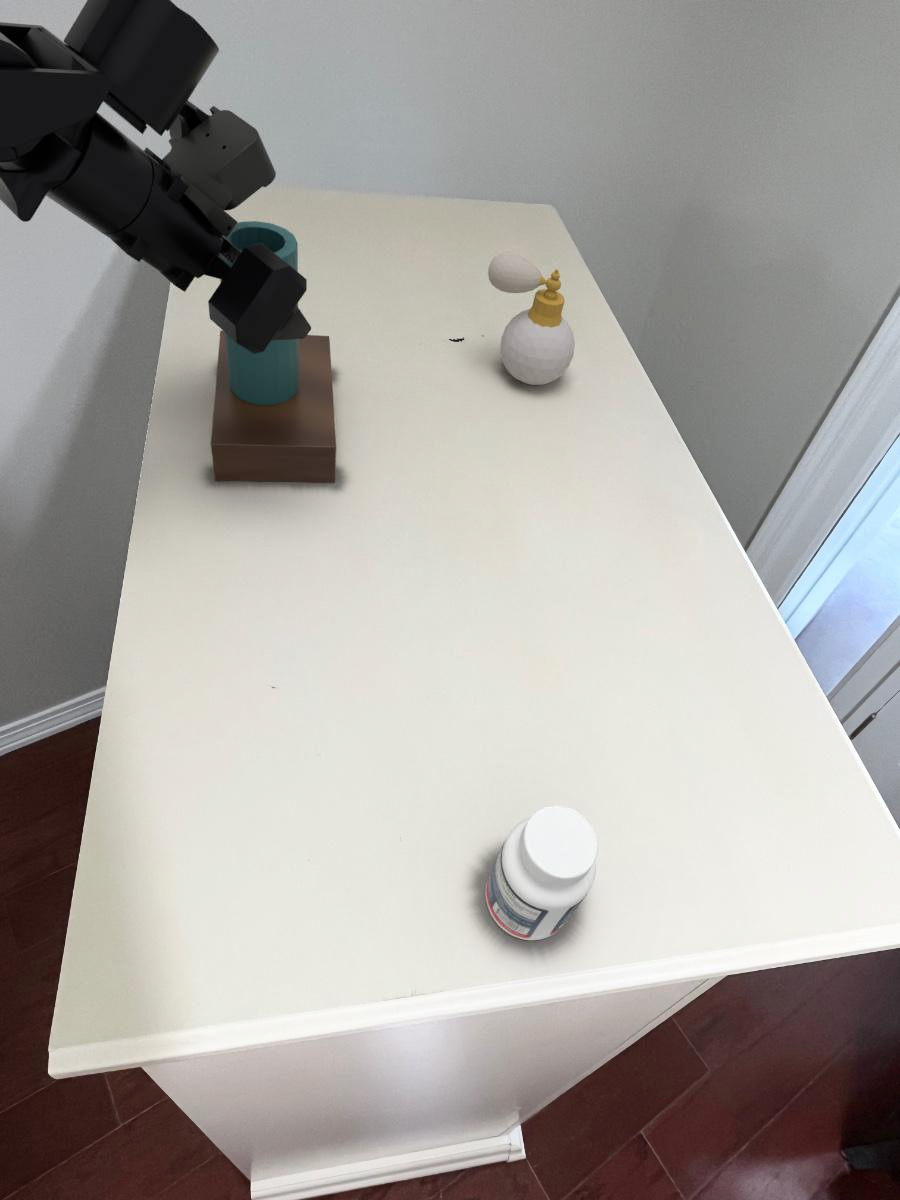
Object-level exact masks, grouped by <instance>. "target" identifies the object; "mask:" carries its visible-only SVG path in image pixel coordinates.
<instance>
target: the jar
mask: <svg viewBox="0 0 900 1200" xmlns="http://www.w3.org/2000/svg"><path fill="white" fill-rule="evenodd" d="M223 237H224V238H225V239H227V240H228V241H229V242H230V243H231V244H233V245H234V246H235V247H236V248H237V249H239V250H240V251H241V252H242V251H243V249H244V248H245V247H247V246H251V245H255V244H258V243H263V244H264V245H265V246H266V247H268V248H269V249H270V250H271V251H273V252H274V253H275V254H276V255H278V256H279V257H280V258H281V259H282V260H284V261H285V262H286V263H287V264H289V265H290V266H291V267H292V268H294V269H295V270H296V271H297V272H298V273H299V271H298V270H299V268H298V267H299V261H298V260H299V259H298V258H299V255H298V254H299V253H298V252H299V250H298V248H299V247H298V246H299V245H298V243H299V242H298V241H297V238H296V237H295V235H294V234H293V233H292V232H291V231H290V230H288V229H287V228H285V227H283V226H280V225H277V224H275V223H271V222H265V221H257V220H253V221H252V220H248V221H239V222H237V224H236V225H235V227H234V228H233V230H232V231H231V233H230V234H229V236H227V237H225V236H224V235H223ZM219 257H220V258H221V259H222V260H224V261H225V262H226V263H227V264H228V265H230V266H231V267H232V265H233V264H232V263H231V262H230V261H229V260H228V259H226V257H224V256H223V255H222V254H221V253H220V254H219ZM219 281H220V283H221V282H222V279H221V278H220V279H219ZM297 306H298V307H299V302H298V303H297ZM225 338H226V350H227V361H228V372H229V380H230V387H231V389H232V391H233V393H234V394H235V395H236V396H237V397H238V398H240V399H242V400H243V401H246V402H248V403H252V404H256V405H276V404H280V403H283V402H285V401H287V400H289V399H291V398H292V397H293V396H294V395H295V394H296V392H297V390H298V380H299V357H298V339H289V340H271V342H270V343H269V344H268V346H267V347H266V349H265V350H264V352H260V353H256V354H253V353H252V352H250V351H248V350H247V349H245V348H244V347H242V346H240V345H239V344H237V343H236V342H235V341H234V340H233V339H232V338H231V337H229V336H228V335H227V334H226V333H225Z"/></svg>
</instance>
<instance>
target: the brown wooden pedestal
mask: <svg viewBox="0 0 900 1200" xmlns="http://www.w3.org/2000/svg"><path fill="white" fill-rule="evenodd" d="M218 343H219V344H218V352H217V353H218V355H217V366H216V379H215V388H214V389H215V390H214V401H213V402H214V403H213V413H212V425H211V435H210V436H211V437H210V450H211V458H212V466H213V475H214V481H216V482H271V483H272V482H273V483H275V482H276V483H331V484H332V483H335V482H336V465H337V464H336V462H337V436H336V421H335V405H334V390H333V387H334V386H333V372H332V356H331V339H330V335H317V334H316V335H315V334H314V335H313V334H307V336H306V337H305V338H304V339H298V357H299V380H298V390H297V392H296V394H295V395H294V396H293V397H292V398H291V399H289V400H287V401H285V402H283V403H280V404H276V405H256V404H252V403H248V402H246V401H243V400H242V399H240V398H238V397H237V396H236V395H235V394H234V393H233V391H232V389H231V387H230V380H229V372H228V361H227V350H226V338H225V332H224V331H223V330H220V331H219V342H218Z"/></svg>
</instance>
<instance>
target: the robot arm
mask: <svg viewBox="0 0 900 1200" xmlns="http://www.w3.org/2000/svg"><path fill="white" fill-rule="evenodd" d="M219 52H220V48H219V46H218V45H217V43H216V42H215V40H214V39H213V38H212V37H211V35H210V34H209V33H208V32H207V31H206V30H205V28H204V27H203V26H202V25H201V24H200V23H199V22H198V21H197V19H195V18H194V17H193V16H192V15H190V14H189V13H188V12H186V11H184V10H183V9H181V8H180V7H178V6H177V5H176V4H175V3H174V2H173V1H172V0H86V2H85V4H84V5H83V7H82V9H80V12H79V14H78V15H77V17H76V18H75V20H74V21H73V23H72V25H71V27H70V28H69V31H68V32H67V34H66V36H65V37H64V39H63V40H62V39H61V38H59V37H58V36H56V35H55V34H54V33H52V31H50V30H49V29H48V28H46V27H44V25H40V24H39V25H38V24H37V25H36V24H28V23H27V24H25V23H15V22H2V21H1V22H0V201H1V203H2V204H4V206H6V207H7V208H8V209H9V211H11V213H12V214H14V216H16V217H17V218H18V219H19V220H20V221H21V222H23V223H28V222H30V221H31V220H32V219H33V218H34V215H35V214H36V212H37V211H38V209H39V208H40V206H41V204H42V202H43V201H44V199H45V198H46V197H47V198H49V199H50V200H52V201H53V202H54V203H56V204H57V205H59V206H60V207H62V208H63V209H65V210H67V211H68V212H70V213H71V214H73V215H74V216H75V217H77V218H79V219H80V220H82V221H83V222H84V223H86V224H88V225H89V226H91V227H92V228H93V229H95V230H96V231H98V232H99V233H101V234H102V235H104V236H105V237H107V238H108V239H110V241H112V242H113V243H114V244H115V245H116V246H118V247H119V248H120V249H121V250H122V251H123V252H124V253H125V254H126V255H127V256H129V257H130V258H132V259H134V260H135V261H137V262H138V263H141V261H144V263H146V264H148V265H149V266H150V267H153V268H154V269H155V270H157V271H158V272H160V274H161V275H163V276H164V278H166V279H167V280H168V281H169V282H170V284H172V285H173V286H174V287H176V288H178V289H179V290H180V291H182V292H184V293H185V292H186V291H187V289H188V288H189V287H190V285H191V284H192V282H193V281H194V279H195V278H196V279H200V278H202V277H203V276H205V277H206V276H207V277H209V278H210V277H211V278H214V279H219V280H220V278H221V279H222V282H220V283H219V285H218V286H217V288H216V289H215V290H214V292H213V293H212V295H211V296H210V298H209V299H208V300H207V304H208V305H207V306H208V313H209V320H211V322H213V323H214V324H215V325H216V326H217V327H219V328H220V329H221V331H224V332H225V333H226V334H227V335H228V336H229V337H231V338H232V339H233V340H234V341H235V342H236V343H237V344H239V345H240V346H242V347H244V348H245V349H247V350H248V351H250V352H252V353H253V354H256V353H260V352H264V350H265V349H266V347H267V346H268V344H269V343H270V342H271V340H289V339H304V338H305V337H306V336H307V335H309V333H310V332H311V330H312V326H311V324H310V323H309V321H308V320H307V318H306V316H305V315H304V314H303V312H302V311H301V309H300V308H299V305H298V306H297V303H298V304H299V302H300V301H301V300H302V298H303V296H304V295H305V293H306V292H307V289H308V288H307V284H308V282H307V281H308V280H307V278H305V276H303V275H302V274H301V273H299V271H298V272H297V271H296V270H295V269H294V268H292V267H291V266H290V265H289V264H287V263H286V262H285V261H284V260H282V259H281V258H280V257H279V256H278V255H276V254H275V253H274V252H273V251H271V250H270V249H269V248H268V247H266V246H265V245H264V244H263V243H258V244H255V245H251V246H247V247H245V248H244V249H243V251H242V252H241V251H240V250H239V249H237V248H236V247H235V246H234V245H233V244H231V243H230V242H229V241H228V240H227V239H225V238H224V237H223V235H224V236H225V237H227V236H229V234H230V233H231V231H232V230H233V228H234V227H235V225H236V224H237V223H238V221H237V220H236V219H235V218H234V217H233V216H232V215H230V214H229V213H228V212H227V211H231V210H234V209H237V208H238V207H239V206H240V205H241V204H243V203H244V202H245V201H246V200H248V199H249V198H250V197H251V196H252V195H254V194H255V193H256V192H257V191H259V190H260V189H262V188H267V187H268V186H270V185H271V184H272V183H273V182H274V180H275V179H276V176H277V173H276V170H275V167H274V165H273V163H272V161H271V159H270V156H269V154H268V151H267V149H266V147H265V144H264V143H263V140H262V138H261V135H260V134H259V131H258V130H257V129H256V127H254V126H253V125H251V124H250V123H249V122H247V121H246V120H244V119H243V118H242V117H239V116H238V115H237V114H236V113H234V112H233V111H231V110H229V109H219V108H218V107H216V106H215V105H213V106H211V107H210V108H209V111H210V113H211V115H210V114H207V113H206V112H204V111H203V110H202V109H200V108H199V107H198V106H197V105H195V104H193V103H192V102H191V101H190V100H189V99H190V97H191V96H192V94H193V93H194V92H195V89H196V88H197V86H198V85H199V83H200V82H201V80H202V78H203V77H204V75H205V74H206V72H207V71H208V69H209V68H210V66H211V64H213V61H214V60H215V58H216V57H217V55H218V54H219ZM102 104H105V105H106V106H107V107H108V108H109V109H110V110H112V111H113V112H115V113H116V114H117V115H118V116H119V118H122V119H123V120H124V121H125V122H127V123H128V124H129V125H130V126H131V127H132V128H134V129H135V130H136V131H138V132H139V133H140V134H141V135H144V133H145V132H146V130H147V129H148V127H149V128H150V129H152V130H153V131H154V132H155V133H156V134H158V135H159V136H160V137H162V136H163V134H164V133H165V131H166V132H169V139H168V142H169V145H170V147H171V148H170V151H169V152H168V153H167V154H166V155H164V156H163V157H162V158H161V157H159V156H158V155H157V154H156V153H154V152H153V151H152V150H151V149H149V148H148V147H147V146H145V149H142V148H141V147H140V146H139V145H137V144H136V143H135V142H134V141H133V140H132V139H131V138H129V137H128V136H127V135H126V134H124V133H123V132H122V131H121V130H119V129H118V128H117V127H116V126H115V125H113V124H112V123H111V122H110V121H108V120H107V118H105V117H104V116H103V115H102V114H100V113H99V112H98V111H99V109H100V108H101V106H102ZM220 253H221V254H222V255H223V256H224V257H226V259H228V260H229V261H230V262H231V263H232V264H233V265H232V267H231V266H230V265H228V264H227V263H226V262H225V261H224V260H222V259H221V258H220V257H219V254H220Z"/></svg>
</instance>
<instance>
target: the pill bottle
mask: <svg viewBox="0 0 900 1200" xmlns="http://www.w3.org/2000/svg"><path fill="white" fill-rule="evenodd" d="M597 838H598V837H597V833H596V832H595V829H594V827H593V826H592V825H591V823H590V821H588V820H587V818H586V817H585V816H584V815H582V814H581V813H580V812H578V811H577V810H575V809H573V808H571V807H567V806H564V805H555V804H554V805H547V806H544V807H542V808H540V809H538V810H537V811H534V813H533V814H531V816H530V817H528V818H526V819H523V820H521V821H520V822H518V823H517V824H516V825H515V826H514V827H513V828H512V829H511V830H510V832H509V833H508V835H507V836H506V838H505V840H504V841H503V844H502V846H501V849H500V850H499V852H498V854H497V857H496V859H495V861H494V863H493V865H492V867H491V868H490V871H489V873H488V877H487V880H486V883H485V901H486V905H487V908H488V911H489V913H490V916H491V918H492V919H493V920H494V922H495V923H496V924H497V925H498V926H499V928H501V929H502V930H503V931H504V932H506V933H507V934H509V935H510V936H512V937H514V938H516V939H517V938H518V939H521V940H525V941H538V940H544V939H547V938H549V937H551V936H553V935H555V934H556V933H557V932H558V931H560V930H561V929H562V928H563V927H564V926H565V924H566V922H567V921H568V920H569V919H570V918H571V917H572V915H573V914H574V913H575V911H576V910H577V909H578V907H579V906H580V905H581V903H582V902H583V901H584V899H585V898H586V897H587V896H588V894H589V893H590V890H591V889H592V887H593V885H594V881H595V878H596V873H597V862H596V860H597V856H598V851H599V843H598V839H597Z"/></svg>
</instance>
